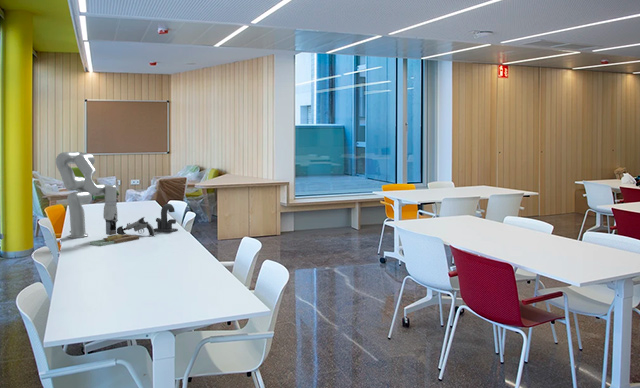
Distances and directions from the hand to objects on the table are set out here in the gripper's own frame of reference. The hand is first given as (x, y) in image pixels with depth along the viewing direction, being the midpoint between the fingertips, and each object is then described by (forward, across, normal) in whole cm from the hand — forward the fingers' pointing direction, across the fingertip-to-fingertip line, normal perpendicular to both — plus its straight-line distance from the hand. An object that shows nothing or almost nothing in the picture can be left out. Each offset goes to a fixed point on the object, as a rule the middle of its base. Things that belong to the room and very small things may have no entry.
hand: (111, 229), depth 383 cm
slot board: (+6, +12, -1) cm, 14 cm away
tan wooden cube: (+6, +12, -8) cm, 16 cm away
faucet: (+6, +6, +43) cm, 44 cm away
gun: (+7, +2, +18) cm, 20 cm away
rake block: (+3, 0, 0) cm, 3 cm away
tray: (+6, +12, -15) cm, 20 cm away
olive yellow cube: (+6, +12, -3) cm, 14 cm away
